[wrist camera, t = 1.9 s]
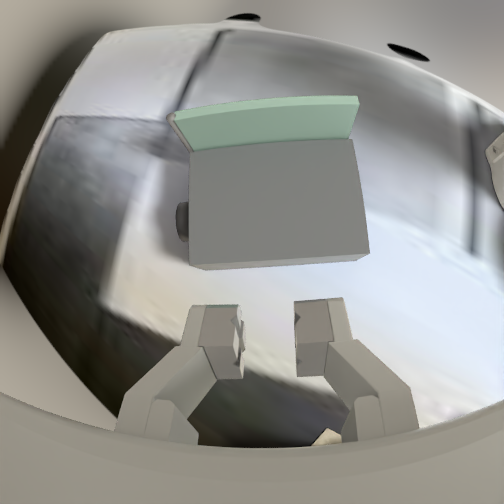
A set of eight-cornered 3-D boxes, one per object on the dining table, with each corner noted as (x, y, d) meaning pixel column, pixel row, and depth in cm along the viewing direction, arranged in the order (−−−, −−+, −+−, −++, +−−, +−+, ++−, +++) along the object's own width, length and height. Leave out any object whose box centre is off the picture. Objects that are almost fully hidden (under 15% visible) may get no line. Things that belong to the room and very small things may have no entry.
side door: (337, 146, 40) (354, 87, 26) (340, 161, 40) (359, 104, 26) (201, 157, 42) (167, 104, 29) (201, 172, 42) (165, 122, 28)
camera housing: (343, 162, 40) (352, 139, 33) (355, 260, 38) (369, 253, 31) (191, 175, 42) (174, 154, 35) (191, 271, 40) (172, 266, 33)
